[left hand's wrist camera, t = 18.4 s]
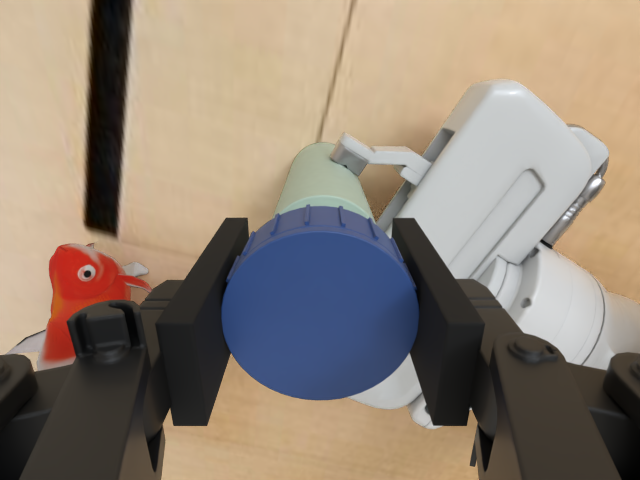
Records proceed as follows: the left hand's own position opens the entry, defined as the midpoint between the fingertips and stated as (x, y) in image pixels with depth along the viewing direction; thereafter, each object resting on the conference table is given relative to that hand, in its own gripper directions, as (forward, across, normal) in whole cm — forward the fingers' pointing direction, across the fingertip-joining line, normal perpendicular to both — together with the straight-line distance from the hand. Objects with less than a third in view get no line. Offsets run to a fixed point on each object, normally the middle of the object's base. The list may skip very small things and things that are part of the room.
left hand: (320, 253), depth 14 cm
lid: (-4, 0, 0) cm, 4 cm away
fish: (+15, -15, -12) cm, 24 cm away
